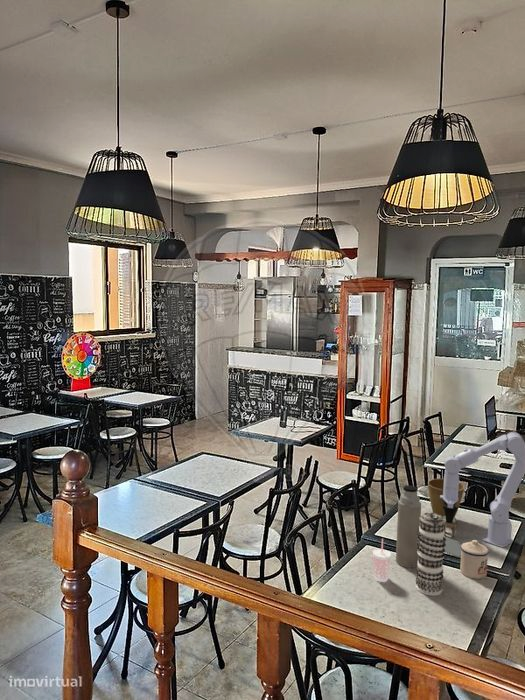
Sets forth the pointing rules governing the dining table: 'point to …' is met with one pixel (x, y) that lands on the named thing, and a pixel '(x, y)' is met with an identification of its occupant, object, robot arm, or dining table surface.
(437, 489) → the plant pot
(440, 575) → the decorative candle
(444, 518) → the stool
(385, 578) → the beverage cup
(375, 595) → the dining table surface
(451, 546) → the mat
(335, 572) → the dining table surface
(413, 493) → the thermos bottle
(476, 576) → the teacup with lid
